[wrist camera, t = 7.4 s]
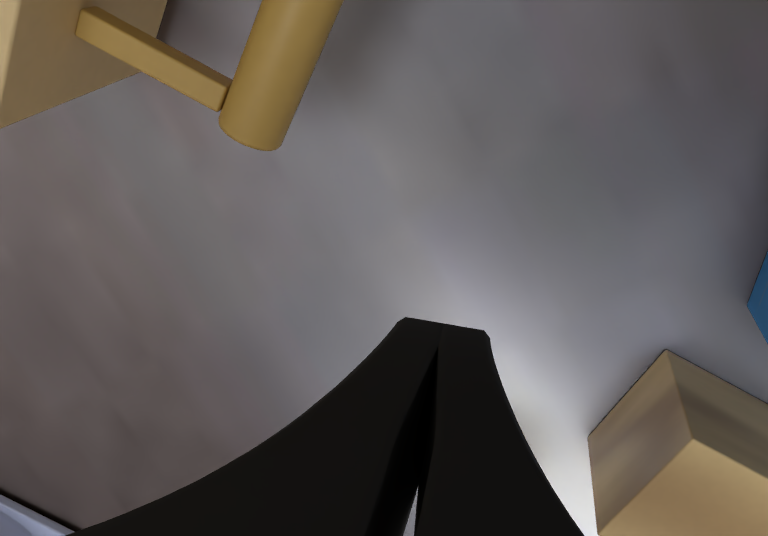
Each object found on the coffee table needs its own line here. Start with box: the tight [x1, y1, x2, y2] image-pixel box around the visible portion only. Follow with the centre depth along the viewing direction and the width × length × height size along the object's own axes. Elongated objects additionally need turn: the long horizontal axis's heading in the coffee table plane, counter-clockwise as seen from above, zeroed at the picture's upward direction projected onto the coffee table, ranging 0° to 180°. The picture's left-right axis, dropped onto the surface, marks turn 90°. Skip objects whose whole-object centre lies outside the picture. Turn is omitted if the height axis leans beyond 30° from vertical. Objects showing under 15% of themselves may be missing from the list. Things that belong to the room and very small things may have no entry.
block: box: [588, 350, 768, 536], centre depth 20 cm, size 4×4×4 cm
